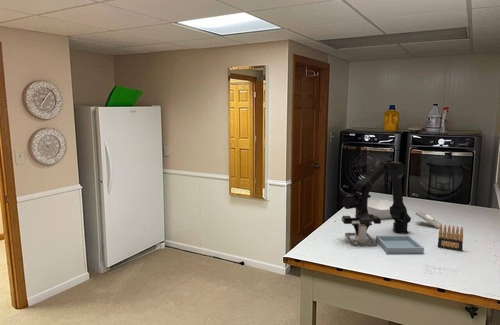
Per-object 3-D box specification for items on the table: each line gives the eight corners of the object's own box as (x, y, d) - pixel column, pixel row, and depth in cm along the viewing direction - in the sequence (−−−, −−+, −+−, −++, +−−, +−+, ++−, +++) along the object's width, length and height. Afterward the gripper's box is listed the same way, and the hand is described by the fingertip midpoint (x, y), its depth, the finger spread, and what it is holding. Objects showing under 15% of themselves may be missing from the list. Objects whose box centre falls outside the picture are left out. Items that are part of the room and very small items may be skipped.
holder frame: (367, 234, 202) (367, 232, 202) (377, 246, 186) (377, 244, 185) (345, 234, 203) (345, 232, 202) (353, 246, 186) (353, 244, 186)
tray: (409, 241, 192) (409, 235, 192) (423, 254, 175) (423, 247, 175) (375, 241, 192) (376, 235, 192) (387, 254, 176) (387, 247, 175)
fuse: (361, 237, 199) (361, 221, 197) (366, 243, 190) (366, 226, 188) (355, 237, 199) (355, 221, 197) (359, 243, 190) (360, 226, 188)
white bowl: (380, 221, 226) (380, 209, 225) (358, 213, 244) (358, 202, 243) (405, 217, 234) (406, 205, 233) (382, 209, 253) (382, 198, 251)
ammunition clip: (462, 250, 179) (464, 226, 178) (462, 251, 178) (464, 227, 176) (437, 246, 185) (439, 222, 183) (437, 247, 183) (438, 223, 182)
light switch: (440, 226, 210) (416, 211, 216) (434, 234, 213) (411, 219, 219) (442, 222, 217) (419, 207, 223) (436, 230, 220) (414, 215, 226)
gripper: (347, 210, 184) (346, 241, 186) (385, 210, 183) (383, 241, 186) (341, 205, 195) (341, 233, 197) (377, 204, 194) (376, 233, 197)
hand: (360, 235), depth 194 cm, fingers closed on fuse, 3 cm apart
